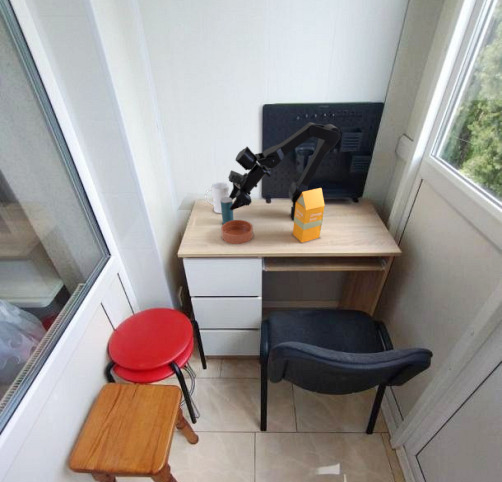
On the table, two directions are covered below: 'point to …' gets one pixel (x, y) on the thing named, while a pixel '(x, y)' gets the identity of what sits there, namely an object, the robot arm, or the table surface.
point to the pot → (237, 231)
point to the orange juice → (308, 215)
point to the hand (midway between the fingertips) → (229, 205)
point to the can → (226, 209)
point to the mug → (218, 194)
